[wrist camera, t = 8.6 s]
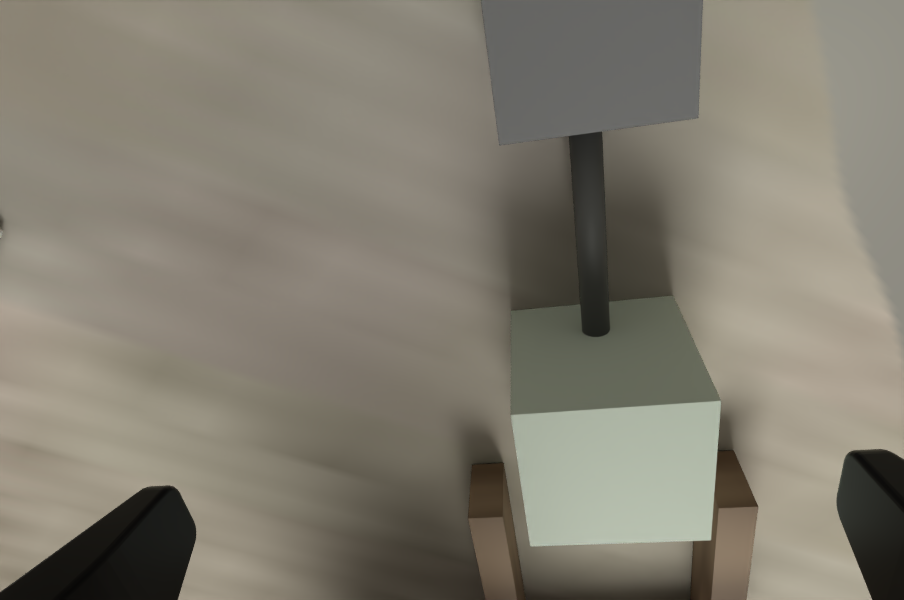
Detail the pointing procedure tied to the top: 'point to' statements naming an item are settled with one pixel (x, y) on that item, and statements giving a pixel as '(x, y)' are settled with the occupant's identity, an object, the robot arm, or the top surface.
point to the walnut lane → (714, 561)
